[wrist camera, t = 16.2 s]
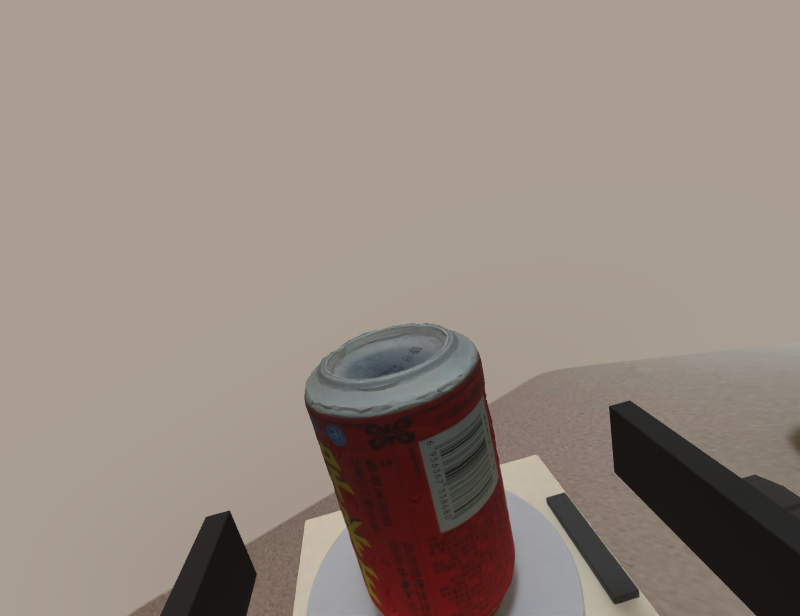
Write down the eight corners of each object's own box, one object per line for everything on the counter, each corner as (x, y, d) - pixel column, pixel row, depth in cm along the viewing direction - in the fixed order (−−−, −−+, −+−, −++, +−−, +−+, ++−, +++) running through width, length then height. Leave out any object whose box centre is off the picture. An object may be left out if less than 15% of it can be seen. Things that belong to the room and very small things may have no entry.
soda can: (544, 550, 19) (506, 315, 15) (477, 710, 14) (399, 412, 10) (426, 502, 23) (377, 313, 20) (343, 610, 18) (258, 380, 15)
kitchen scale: (541, 483, 27) (535, 444, 26) (731, 757, 14) (732, 694, 13) (315, 549, 26) (301, 510, 25) (281, 915, 13) (248, 859, 12)
